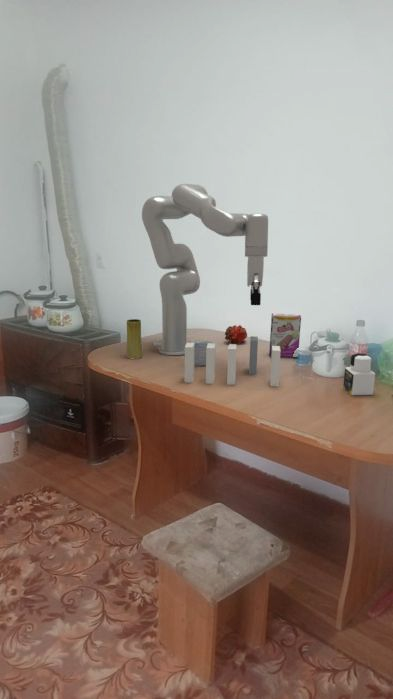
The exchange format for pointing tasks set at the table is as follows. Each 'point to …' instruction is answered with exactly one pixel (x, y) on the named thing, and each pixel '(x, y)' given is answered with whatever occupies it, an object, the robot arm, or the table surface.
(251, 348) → the domino
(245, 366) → the table surface
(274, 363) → the domino
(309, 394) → the table surface
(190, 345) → the domino
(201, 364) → the medicine box
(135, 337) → the vase
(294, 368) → the table surface
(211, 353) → the domino
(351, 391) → the medicine bottle
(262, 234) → the robot arm
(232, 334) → the dragon fruit
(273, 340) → the candy bar box
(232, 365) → the domino
